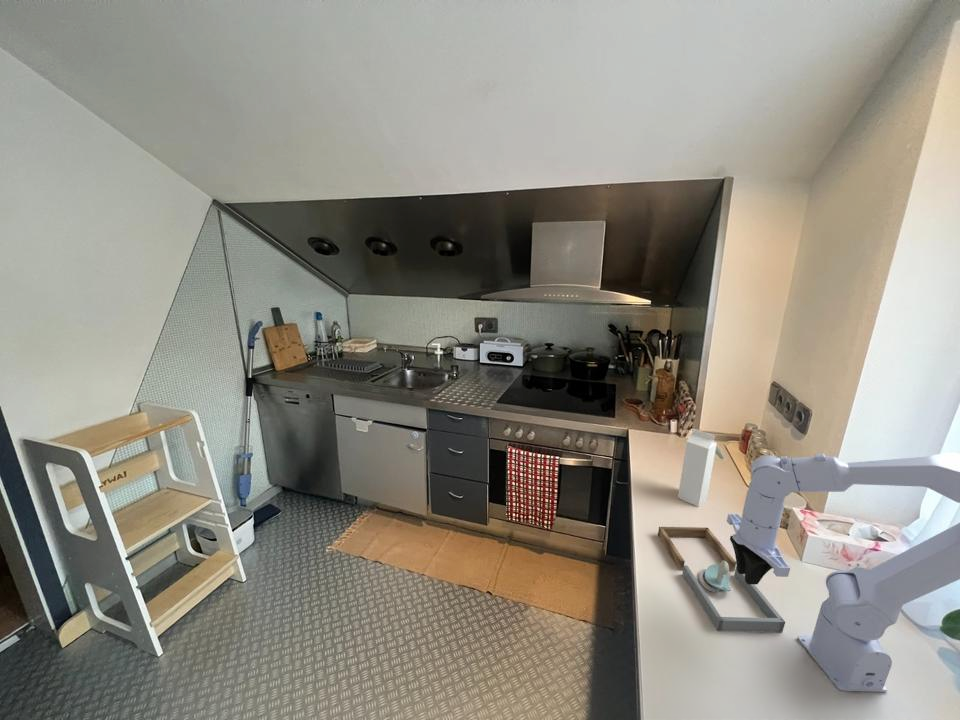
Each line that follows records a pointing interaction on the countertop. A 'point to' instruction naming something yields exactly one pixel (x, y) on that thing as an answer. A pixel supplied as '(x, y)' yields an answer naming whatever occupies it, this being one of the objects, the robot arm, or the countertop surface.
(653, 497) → the countertop surface
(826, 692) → the countertop surface
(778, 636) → the countertop surface
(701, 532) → the walnut bin
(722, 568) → the pacifier
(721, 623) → the grey bin
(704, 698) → the countertop surface
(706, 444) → the milk
